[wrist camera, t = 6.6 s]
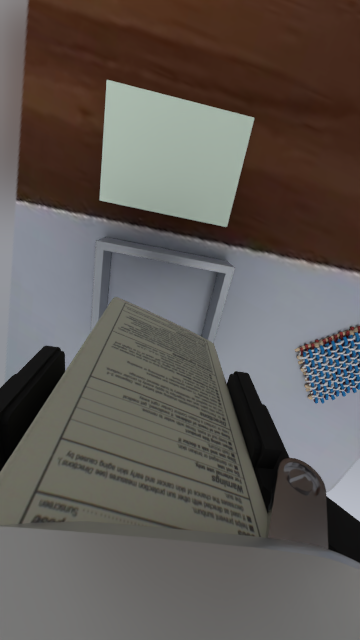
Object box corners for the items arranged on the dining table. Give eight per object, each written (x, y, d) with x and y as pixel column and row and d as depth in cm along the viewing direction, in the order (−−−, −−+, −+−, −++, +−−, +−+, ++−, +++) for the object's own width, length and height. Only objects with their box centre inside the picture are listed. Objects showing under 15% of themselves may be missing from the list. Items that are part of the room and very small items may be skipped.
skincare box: (85, 356, 14) (-265, 905, 3) (115, 292, 13) (-378, 922, 1) (184, 398, 15) (199, 894, 4) (221, 344, 14) (401, 895, 3)
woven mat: (365, 318, 34) (377, 324, 32) (373, 376, 38) (384, 384, 36) (291, 344, 36) (298, 352, 34) (306, 398, 39) (313, 407, 38)
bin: (227, 260, 30) (234, 267, 26) (200, 361, 36) (203, 378, 32) (105, 237, 29) (95, 240, 25) (97, 345, 34) (88, 361, 31)
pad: (251, 121, 25) (254, 117, 24) (225, 226, 28) (226, 227, 28) (109, 84, 23) (106, 79, 22) (102, 200, 27) (99, 200, 26)
